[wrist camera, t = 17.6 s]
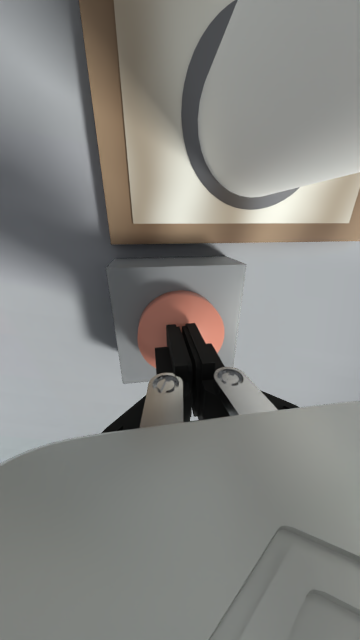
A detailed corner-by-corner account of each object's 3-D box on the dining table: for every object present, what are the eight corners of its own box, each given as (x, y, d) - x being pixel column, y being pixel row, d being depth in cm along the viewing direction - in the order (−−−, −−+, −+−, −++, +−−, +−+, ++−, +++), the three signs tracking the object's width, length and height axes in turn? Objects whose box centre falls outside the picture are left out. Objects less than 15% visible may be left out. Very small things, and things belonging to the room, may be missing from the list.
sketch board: (113, 243, 14) (110, 244, 13) (69, -93, 9) (60, -131, 8) (350, 240, 16) (362, 241, 15) (435, -28, 11) (461, -50, 10)
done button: (142, 347, 16) (141, 377, 13) (136, 281, 14) (133, 298, 11) (207, 342, 17) (221, 370, 14) (210, 279, 15) (228, 294, 12)
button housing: (127, 355, 18) (123, 384, 15) (114, 258, 14) (105, 268, 11) (218, 348, 19) (232, 373, 16) (226, 256, 15) (246, 264, 12)
